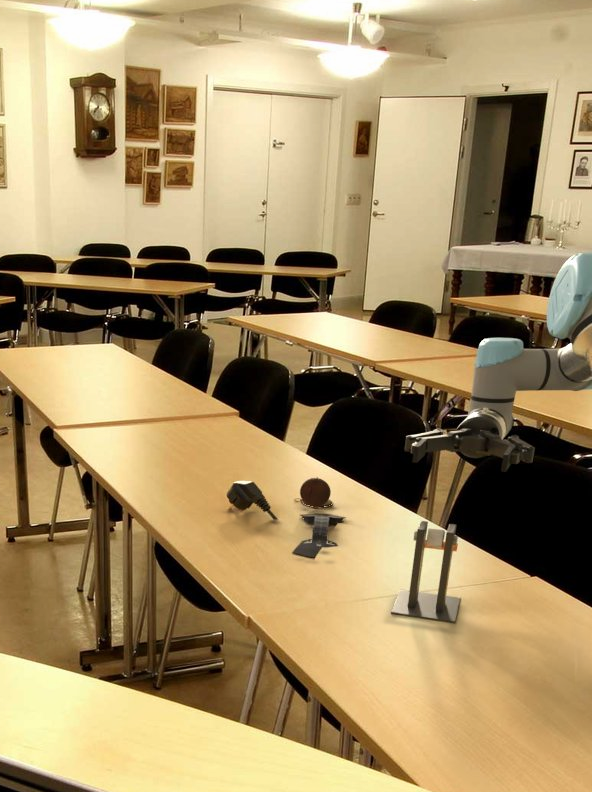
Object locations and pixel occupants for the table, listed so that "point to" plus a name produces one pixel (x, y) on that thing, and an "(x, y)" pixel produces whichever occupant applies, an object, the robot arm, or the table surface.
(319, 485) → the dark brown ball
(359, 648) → the table surface
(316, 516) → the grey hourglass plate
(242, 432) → the table surface
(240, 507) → the power plug
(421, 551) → the stand
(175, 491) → the table surface
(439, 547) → the lever
